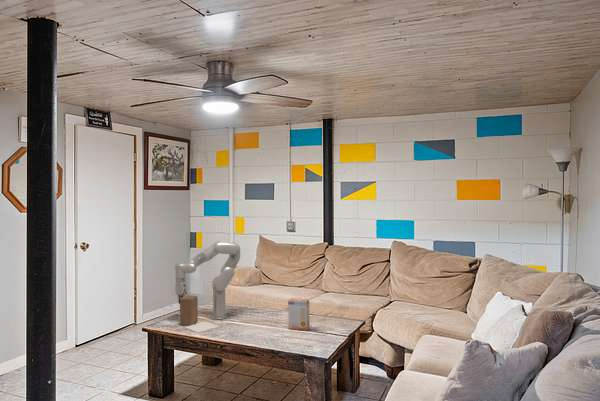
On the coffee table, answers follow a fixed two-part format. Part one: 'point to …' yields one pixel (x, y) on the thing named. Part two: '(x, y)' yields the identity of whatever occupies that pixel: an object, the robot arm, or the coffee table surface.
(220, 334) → the coffee table surface
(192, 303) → the wooden block
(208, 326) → the mat
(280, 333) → the coffee table surface
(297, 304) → the cracker box
